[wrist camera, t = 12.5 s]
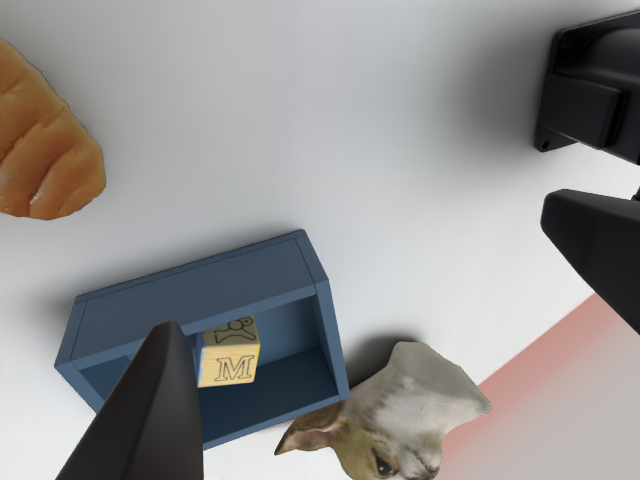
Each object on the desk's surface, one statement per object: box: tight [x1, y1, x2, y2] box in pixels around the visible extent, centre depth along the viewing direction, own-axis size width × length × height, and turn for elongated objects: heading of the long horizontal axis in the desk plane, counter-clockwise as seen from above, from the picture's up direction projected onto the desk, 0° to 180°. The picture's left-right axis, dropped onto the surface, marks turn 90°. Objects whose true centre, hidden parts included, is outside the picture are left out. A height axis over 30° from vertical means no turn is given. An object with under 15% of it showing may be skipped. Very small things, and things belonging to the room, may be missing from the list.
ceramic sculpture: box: [274, 342, 492, 480], centre depth 29 cm, size 11×9×15 cm
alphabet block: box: [195, 315, 260, 388], centre depth 22 cm, size 3×3×3 cm
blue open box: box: [54, 230, 351, 451], centre depth 22 cm, size 12×10×5 cm
